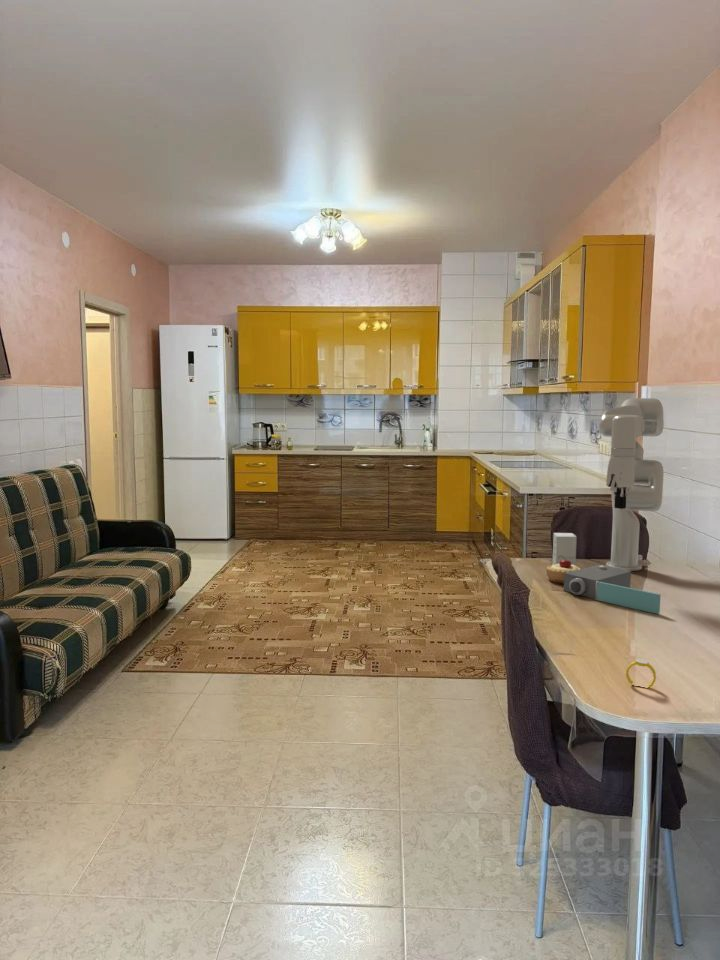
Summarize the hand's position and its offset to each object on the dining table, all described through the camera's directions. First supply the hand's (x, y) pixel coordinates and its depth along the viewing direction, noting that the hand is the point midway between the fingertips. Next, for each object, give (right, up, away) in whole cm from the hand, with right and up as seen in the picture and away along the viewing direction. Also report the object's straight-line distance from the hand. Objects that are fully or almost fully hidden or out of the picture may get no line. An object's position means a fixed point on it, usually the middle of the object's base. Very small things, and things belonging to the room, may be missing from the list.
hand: (620, 508), depth 230 cm
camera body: (-9, -27, -1) cm, 29 cm away
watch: (-25, -36, -78) cm, 90 cm away
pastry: (-15, -26, +11) cm, 32 cm away
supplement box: (-10, -24, +31) cm, 40 cm away
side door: (-5, -29, -19) cm, 35 cm away
